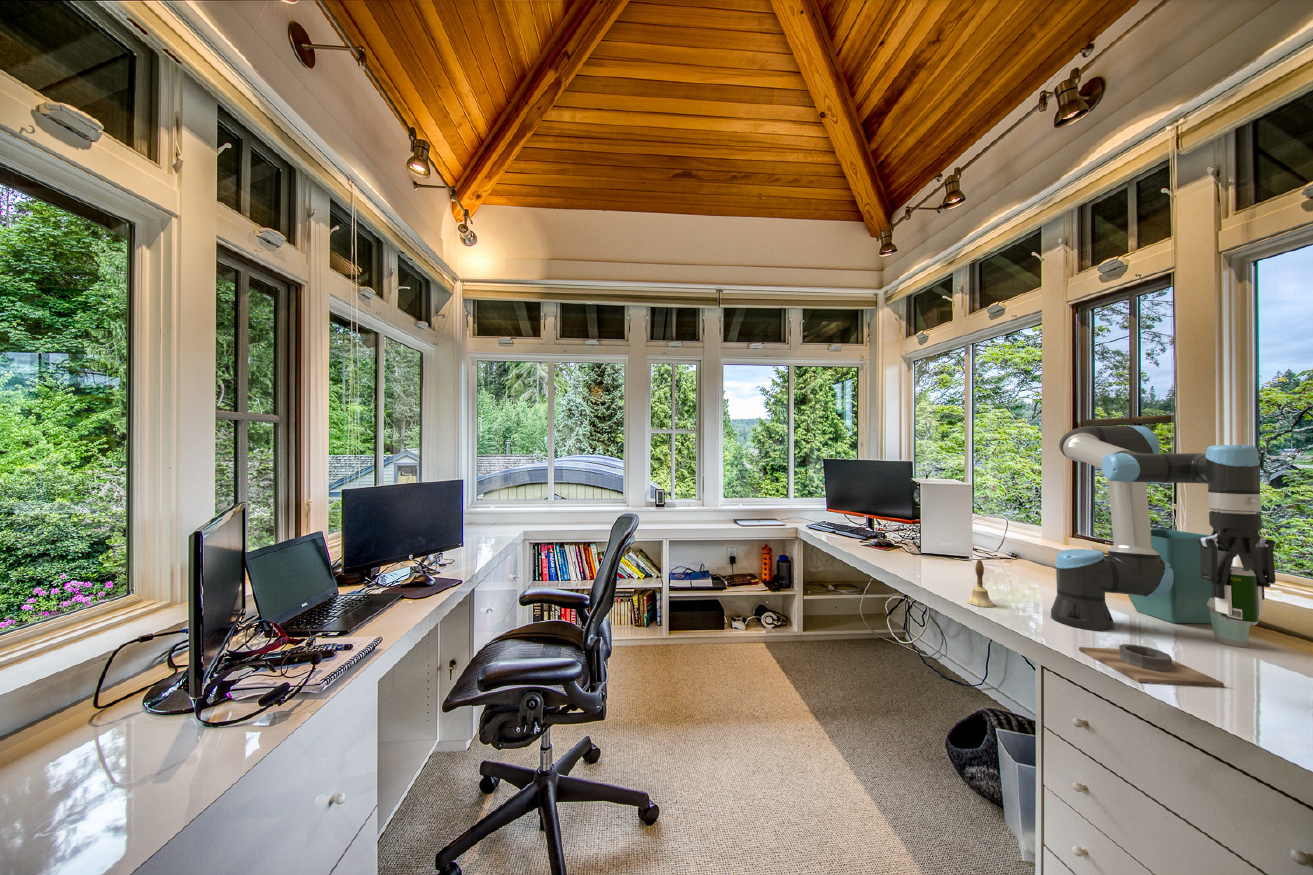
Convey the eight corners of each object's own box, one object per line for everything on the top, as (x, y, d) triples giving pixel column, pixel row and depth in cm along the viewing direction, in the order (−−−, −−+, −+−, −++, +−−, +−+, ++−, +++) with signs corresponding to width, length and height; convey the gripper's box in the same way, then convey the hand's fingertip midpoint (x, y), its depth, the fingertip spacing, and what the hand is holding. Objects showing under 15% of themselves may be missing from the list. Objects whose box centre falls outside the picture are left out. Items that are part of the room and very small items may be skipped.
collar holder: (1078, 650, 128) (1078, 636, 128) (1151, 653, 126) (1150, 639, 126) (1138, 682, 110) (1137, 665, 110) (1223, 686, 108) (1222, 669, 108)
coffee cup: (1265, 650, 128) (1263, 607, 128) (1228, 648, 130) (1226, 605, 130) (1233, 638, 136) (1231, 597, 137) (1198, 636, 138) (1197, 596, 138)
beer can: (1257, 627, 101) (1255, 572, 101) (1219, 619, 105) (1216, 567, 106) (1260, 622, 104) (1257, 569, 104) (1222, 615, 108) (1220, 564, 109)
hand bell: (963, 599, 173) (962, 557, 174) (988, 601, 171) (987, 558, 172) (972, 606, 165) (971, 562, 166) (998, 608, 163) (997, 563, 164)
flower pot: (1112, 606, 165) (1109, 528, 166) (1169, 607, 164) (1166, 528, 165) (1172, 627, 145) (1168, 538, 146) (1238, 628, 144) (1234, 538, 145)
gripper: (1206, 513, 103) (1210, 617, 102) (1301, 514, 101) (1306, 620, 100) (1173, 509, 110) (1177, 606, 109) (1260, 510, 108) (1265, 609, 107)
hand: (1238, 612), depth 105 cm, fingers closed on beer can, 5 cm apart
